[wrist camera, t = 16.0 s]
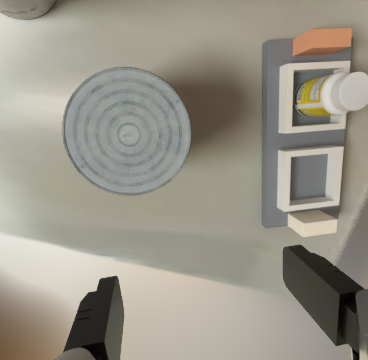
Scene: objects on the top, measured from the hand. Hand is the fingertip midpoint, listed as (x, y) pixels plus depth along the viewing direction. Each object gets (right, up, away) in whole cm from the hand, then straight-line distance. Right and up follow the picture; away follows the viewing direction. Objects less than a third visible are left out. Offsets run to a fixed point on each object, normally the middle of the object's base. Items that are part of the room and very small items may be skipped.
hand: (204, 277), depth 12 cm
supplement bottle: (+16, +16, +23) cm, 32 cm away
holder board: (+16, +11, +26) cm, 32 cm away
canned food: (-8, +11, +22) cm, 26 cm away
